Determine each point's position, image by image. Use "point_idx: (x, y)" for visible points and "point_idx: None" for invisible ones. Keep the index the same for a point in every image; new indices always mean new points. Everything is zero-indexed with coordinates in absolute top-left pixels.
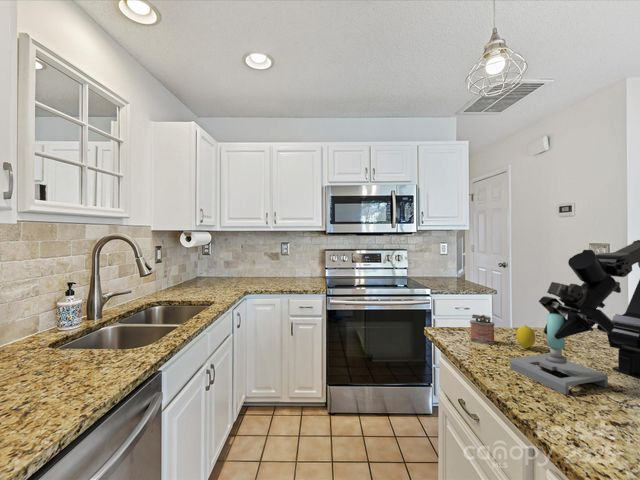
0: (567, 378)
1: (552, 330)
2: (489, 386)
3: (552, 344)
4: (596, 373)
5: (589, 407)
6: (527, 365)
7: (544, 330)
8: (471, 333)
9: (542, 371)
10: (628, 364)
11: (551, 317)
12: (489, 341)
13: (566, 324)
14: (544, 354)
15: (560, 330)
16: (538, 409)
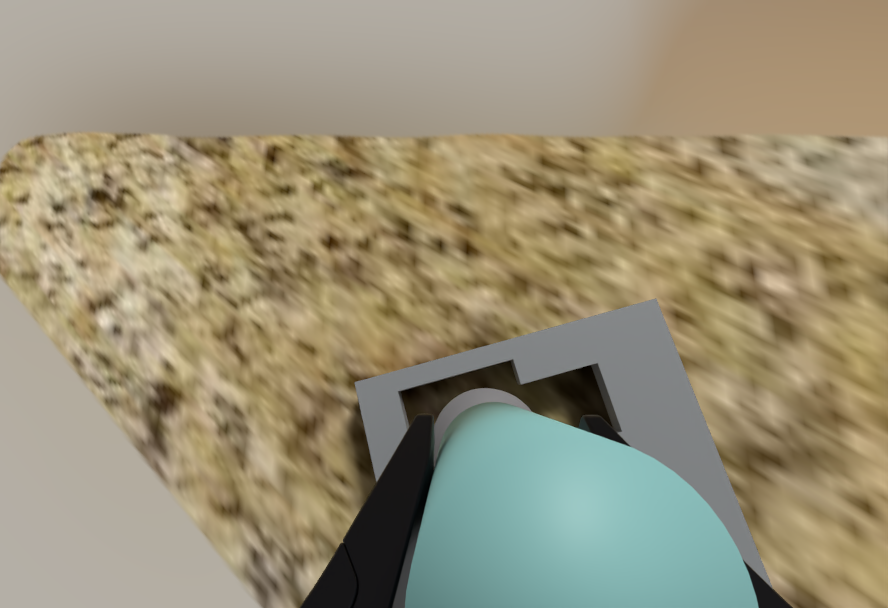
0: (394, 426)
1: (467, 426)
2: (449, 137)
3: (466, 412)
4: None
5: (269, 399)
6: (558, 332)
7: (602, 426)
8: None
9: (480, 359)
10: None
11: (485, 446)
12: None
13: (329, 592)
14: (752, 559)
15: (391, 480)
16: (277, 210)
